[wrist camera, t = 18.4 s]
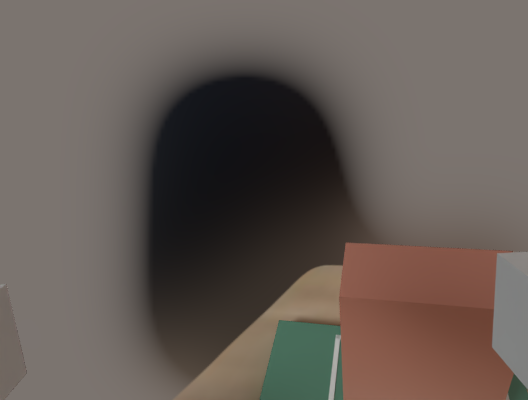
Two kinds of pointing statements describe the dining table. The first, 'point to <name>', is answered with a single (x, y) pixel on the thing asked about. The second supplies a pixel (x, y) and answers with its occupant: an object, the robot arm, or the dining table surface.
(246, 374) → the dining table surface
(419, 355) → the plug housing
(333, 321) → the dining table surface
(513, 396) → the board
